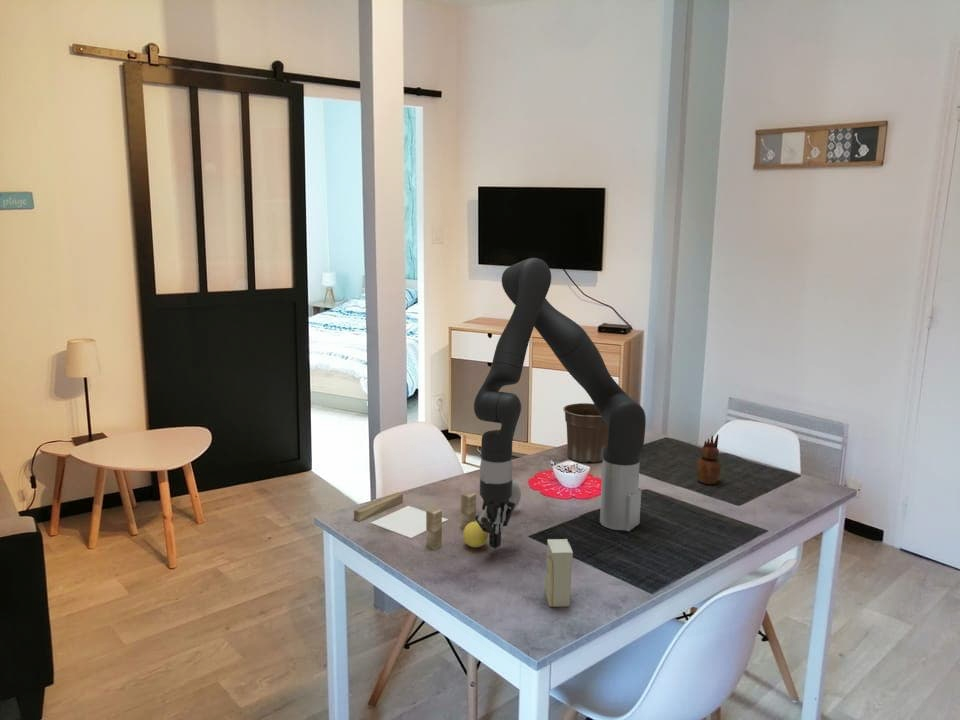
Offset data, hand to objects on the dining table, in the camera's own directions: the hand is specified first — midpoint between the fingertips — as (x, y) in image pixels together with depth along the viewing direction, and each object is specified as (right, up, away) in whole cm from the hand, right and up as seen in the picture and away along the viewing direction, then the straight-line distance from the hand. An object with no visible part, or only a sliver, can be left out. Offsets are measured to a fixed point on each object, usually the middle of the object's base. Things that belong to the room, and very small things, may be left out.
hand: (494, 546), depth 175 cm
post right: (-6, +1, +13) cm, 15 cm away
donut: (+3, +3, +22) cm, 22 cm away
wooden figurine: (+64, +7, +46) cm, 79 cm away
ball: (-5, +2, +3) cm, 6 cm away
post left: (-14, -1, +3) cm, 15 cm away
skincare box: (+13, -6, -20) cm, 24 cm away
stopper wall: (-30, +4, +23) cm, 38 cm away
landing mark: (-21, +2, +17) cm, 27 cm away
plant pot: (+31, +12, +67) cm, 75 cm away
